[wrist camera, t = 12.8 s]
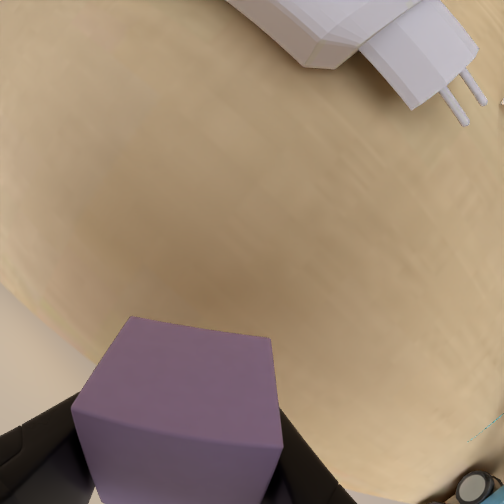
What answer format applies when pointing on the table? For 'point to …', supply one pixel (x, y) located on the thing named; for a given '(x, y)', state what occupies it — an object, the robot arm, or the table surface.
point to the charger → (376, 41)
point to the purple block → (181, 416)
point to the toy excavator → (477, 490)
